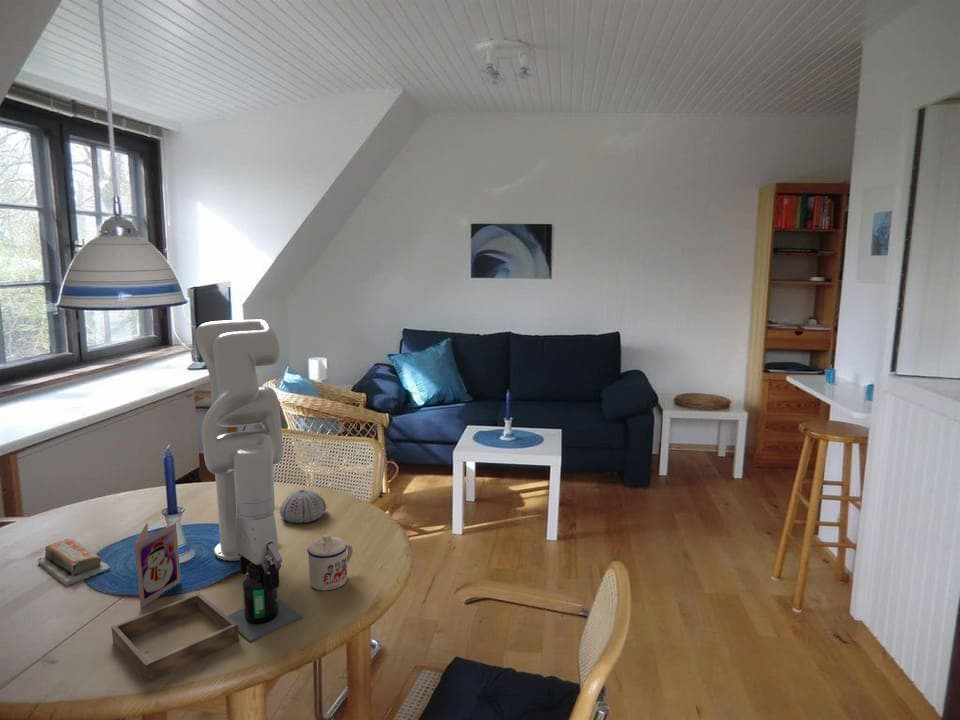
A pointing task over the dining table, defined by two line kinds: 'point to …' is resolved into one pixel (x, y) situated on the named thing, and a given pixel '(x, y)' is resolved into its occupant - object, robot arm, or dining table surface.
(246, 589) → the supplement bottle
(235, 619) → the charcoal mat
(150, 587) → the greeting card
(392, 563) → the dining table surface
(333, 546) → the teacup with lid
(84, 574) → the packaged product
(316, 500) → the sea urchin shell
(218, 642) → the walnut box
